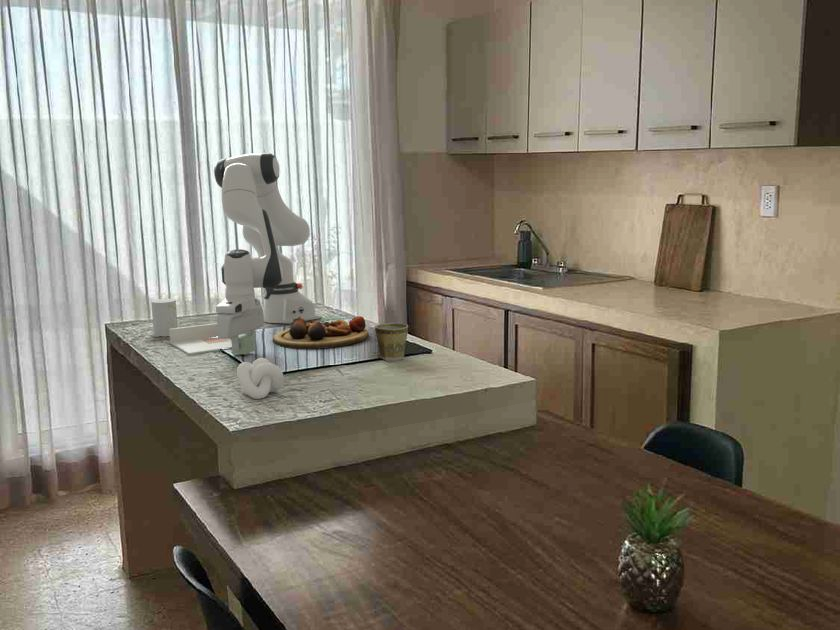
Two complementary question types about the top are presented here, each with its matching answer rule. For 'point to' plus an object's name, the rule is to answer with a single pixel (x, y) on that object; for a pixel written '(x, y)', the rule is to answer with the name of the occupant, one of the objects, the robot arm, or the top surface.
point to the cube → (245, 344)
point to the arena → (198, 339)
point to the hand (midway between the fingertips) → (243, 346)
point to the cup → (164, 316)
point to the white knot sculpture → (259, 378)
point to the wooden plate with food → (322, 334)
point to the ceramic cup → (391, 340)
